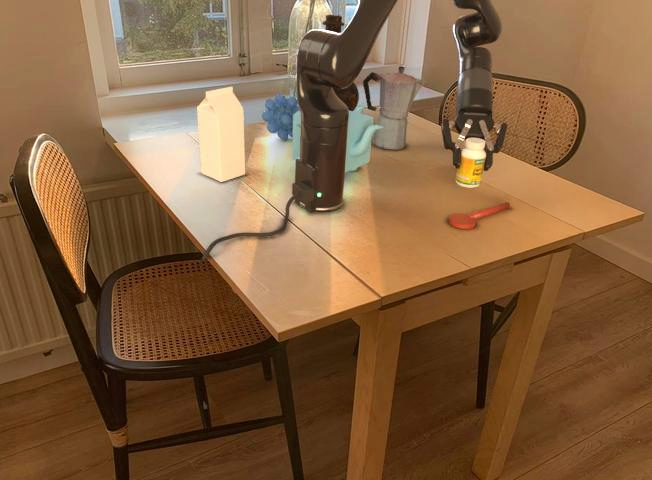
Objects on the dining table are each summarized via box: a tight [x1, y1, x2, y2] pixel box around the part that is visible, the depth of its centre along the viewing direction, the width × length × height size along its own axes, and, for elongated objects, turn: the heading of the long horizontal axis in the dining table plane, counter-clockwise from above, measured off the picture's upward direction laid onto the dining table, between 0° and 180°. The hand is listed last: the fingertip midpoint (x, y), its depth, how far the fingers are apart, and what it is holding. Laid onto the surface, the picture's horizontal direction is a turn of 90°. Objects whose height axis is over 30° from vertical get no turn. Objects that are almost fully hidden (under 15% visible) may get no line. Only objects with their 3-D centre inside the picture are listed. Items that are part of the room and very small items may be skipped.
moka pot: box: [362, 66, 426, 151], centre depth 149 cm, size 10×15×20 cm, turn 89°
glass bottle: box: [322, 14, 360, 111], centre depth 165 cm, size 18×18×28 cm
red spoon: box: [448, 201, 511, 230], centre depth 119 cm, size 17×5×1 cm, turn 125°
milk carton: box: [196, 86, 246, 183], centre depth 127 cm, size 7×7×19 cm
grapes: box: [261, 93, 300, 140], centre depth 151 cm, size 12×7×12 cm, turn 105°
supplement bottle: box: [455, 138, 486, 189], centre depth 124 cm, size 5×5×10 cm
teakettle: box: [291, 103, 383, 174], centre depth 134 cm, size 19×19×15 cm
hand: (472, 168), depth 122 cm, fingers closed on supplement bottle, 5 cm apart
